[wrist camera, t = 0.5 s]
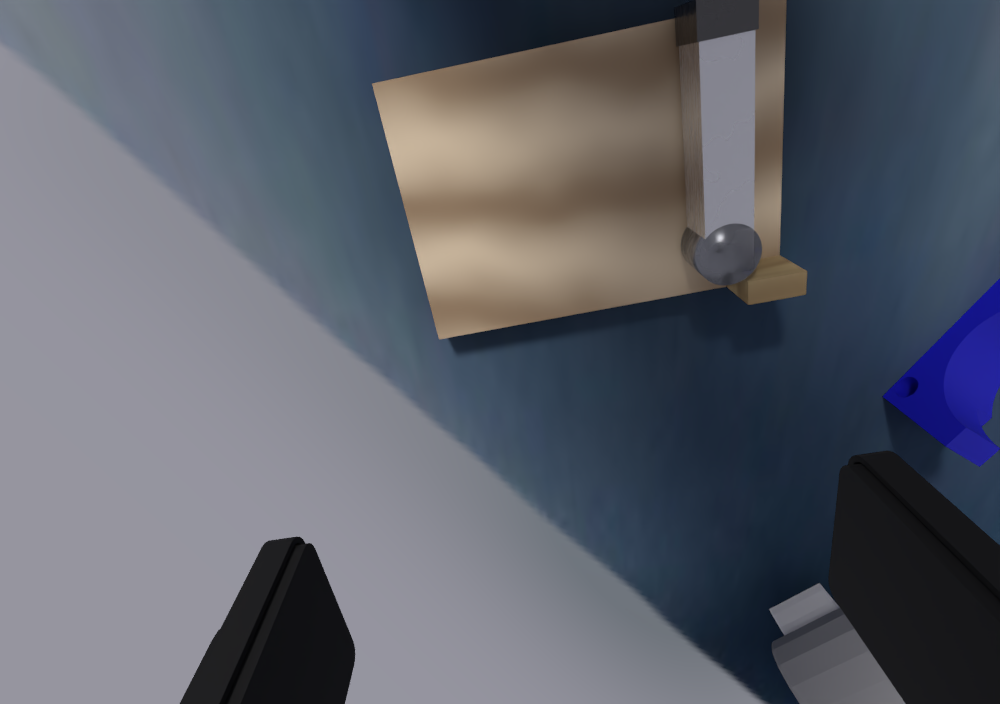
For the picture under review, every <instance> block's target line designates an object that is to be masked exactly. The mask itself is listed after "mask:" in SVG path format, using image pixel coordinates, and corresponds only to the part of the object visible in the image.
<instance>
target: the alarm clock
mask: <svg viewBox="0 0 1000 704" xmlns="http://www.w3.org/2000/svg"><path fill="white" fill-rule="evenodd" d="M769 610H770V612H771V614H772V616H773V618H774V619H775V621H776V623H777V624H778V626H779V628H780V629H781V631H782V632H783V634H784V636H783V637H781V638H779V639H777V640H775V641H773V642H772V653H773V656H774V658H775V661H776V663H777V666H778V668H779V670H780V672H781V673H782V675H783V677H784V679H785V681H786V682H787V684H788V686H789V688H790V689H791V691H792V693H793V694H794V696H795V697H796V699H797V700H798V702H799V703H800V704H905V702H904V701H903V699H902V698H901V696H900V695H899V694H898V692H897V691H896V689H895V688H894V686H893V685H892V683H891V682H890V680H889V679H888V677H887V676H886V674H885V673H884V671H883V670H882V669H881V667H880V666H879V664H878V663H877V661H876V660H875V658H874V657H873V655H872V654H871V652H870V651H869V649H868V648H867V646H866V645H865V644H864V642H863V641H862V639H861V638H860V636H859V635H858V633H857V632H856V630H855V629H854V627H853V626H852V624H851V623H850V622H849V620H848V619H847V617H846V616H845V614H844V613H843V611H842V610H841V608H840V607H839V606H838V605H837V603H836V602H835V601H834V600H833V599H832V597H831V596H830V595H829V594H828V593H827V591H826V590H825V589H824V588H823V587H822V585H821V584H820V583H818V584H817V585H815V586H813V587H811V588H809V589H807V590H805V591H803V592H801V593H799V594H797V595H795V596H793V597H792V598H790V599H788V600H786V601H784V602H782V603H780V604H778V605H776V606H774V607H772V608H770V609H769Z"/></svg>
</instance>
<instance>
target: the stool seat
mask: <svg viewBox="0 0 1000 704" xmlns="http://www.w3.org/2000/svg"><path fill="white" fill-rule="evenodd" d="M786 1H787V0H759V29H757V30H755V177H754V231H756V233H757V234H758V236H759V237H760V240H761V243H762V255H761V259H760V261H759V263H758V265H757V267H756V269H755V270H754V271H753V272H752V273H751V274H750V275H749V276H748V277H747V278H746V279H744V280H742V281H740V282H738V283H736V284H732V285H726V286H722V285H716V284H713V283H711V282H709V281H708V280H707V279H706V278H704V277H703V276H702V275H701V274H700V273H699V272H698V271H696V270H695V269H694V268H693V267H692V266H691V265H690V264H689V263H687V261H686V260H685V259H684V257H683V255H682V252H681V239H682V235H683V233H684V231H685V229H686V228H687V212H686V191H685V169H684V147H683V125H682V104H681V82H680V60H679V46H677V47H676V34H675V18H674V19H669V20H665V21H660V22H655V23H651V24H646V25H642V26H637V27H632V28H628V29H623V30H618V31H614V32H609V33H605V34H600V35H595V36H591V37H586V38H581V39H577V40H572V41H567V42H563V43H558V44H554V45H549V46H544V47H540V48H535V49H530V50H526V51H521V52H517V53H512V54H507V55H503V56H498V57H493V58H489V59H484V60H480V61H475V62H470V63H466V64H461V65H456V66H452V67H447V68H443V69H438V70H433V71H429V72H424V73H419V74H415V75H410V76H406V77H401V78H396V79H392V80H387V81H382V82H378V83H373V84H372V85H373V89H374V93H375V97H376V101H377V104H378V108H379V112H380V116H381V120H382V124H383V127H384V131H385V135H386V139H387V143H388V146H389V150H390V154H391V158H392V162H393V165H394V169H395V173H396V177H397V181H398V184H399V188H400V192H401V196H402V200H403V204H404V207H405V211H406V215H407V219H408V223H409V226H410V230H411V234H412V238H413V242H414V245H415V249H416V253H417V257H418V261H419V264H420V268H421V272H422V276H423V280H424V284H425V287H426V291H427V295H428V299H429V303H430V306H431V310H432V314H433V318H434V322H435V325H436V329H437V333H438V337H439V339H444V338H450V337H455V336H461V335H466V334H472V333H477V332H482V331H488V330H493V329H499V328H504V327H510V326H515V325H520V324H526V323H531V322H537V321H542V320H548V319H553V318H559V317H564V316H569V315H575V314H580V313H586V312H591V311H597V310H602V309H608V308H613V307H618V306H624V305H629V304H635V303H640V302H646V301H651V300H657V299H662V298H667V297H673V296H678V295H684V294H689V293H695V292H700V291H706V290H711V289H716V288H722V287H727V288H729V289H730V290H731V291H732V292H733V293H734V294H736V295H737V296H738V297H739V298H740V299H742V300H743V301H744V302H745V303H746V304H748V305H752V304H757V303H763V302H768V301H774V300H779V299H785V298H790V297H796V296H801V295H806V285H807V271H806V270H804V269H803V268H801V267H799V266H797V265H796V264H794V263H792V262H790V261H789V260H787V259H785V258H784V257H782V256H780V225H781V188H782V150H783V113H784V76H785V39H786Z"/></svg>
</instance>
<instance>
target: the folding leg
mask: <svg viewBox="0 0 1000 704" xmlns="http://www.w3.org/2000/svg"><path fill="white" fill-rule="evenodd" d="M674 13H675V34H676V47H677V46H679V60H680V82H681V104H682V125H683V147H684V169H685V191H686V212H687V228H686V229H685V231H684V233H683V235H682V239H681V252H682V255H683V257H684V259H685V260H686V261H687V263H689V264H690V265H691V266H692V267H693V268H694V269H695V270H696V271H698V272H699V273H700V274H701V275H702V276H703V277H704V278H706V279H707V280H708V281H709V282H711V283H713V284H716V285H722V286H726V285H732V284H736V283H738V282H740V281H742V280H744V279H746V278H747V277H748V276H749V275H750V274H751V273H752V272H753V271H754V270H755V269H756V267H757V265H758V263H759V261H760V259H761V255H762V243H761V240H760V237H759V236H758V234H757V233H756V231H754V177H755V30H757V29H759V0H692V1H690V2H688V3H685V4H683V5H681V6H678V7H676V8H674Z"/></svg>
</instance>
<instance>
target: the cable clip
mask: <svg viewBox="0 0 1000 704" xmlns="http://www.w3.org/2000/svg"><path fill="white" fill-rule="evenodd" d="M999 387H1000V279H999V280H998V281H997V282H996V283H995V284H994V285H993V286H992V287H991V288H990V289H989V290H988V291H987V292H986V293H985V294H984V295H983V296H982V297H981V298H980V299H979V300H978V301H977V302H976V303H975V304H974V305H973V306H972V307H971V308H970V309H969V310H968V311H967V312H966V313H965V314H964V315H963V316H962V317H961V318H960V319H959V320H958V321H957V322H956V323H955V324H954V325H953V326H952V327H951V328H950V329H949V330H948V331H947V332H946V333H945V334H944V335H943V336H942V337H941V338H940V339H939V340H938V341H937V342H936V343H935V344H934V345H933V346H932V347H931V348H930V349H929V350H928V351H927V352H926V353H925V354H924V355H923V356H922V357H921V358H920V359H919V360H918V361H917V362H916V363H915V364H914V365H913V366H912V367H911V368H910V369H909V370H908V371H907V372H906V373H905V374H904V375H903V376H902V377H901V378H900V379H899V380H898V381H897V382H896V383H895V384H894V385H893V386H892V387H891V388H890V389H889V390H888V391H887V392H886V393H885V394H884V395H883V396H882V397H884V398H885V399H886V400H888V401H889V402H890V403H891V404H893V405H894V406H895V407H896V408H898V409H899V410H900V411H901V412H903V413H904V414H905V415H906V416H908V417H909V418H910V419H912V420H913V421H914V422H915V423H917V424H918V425H919V426H920V427H922V428H923V429H924V430H925V431H927V432H928V433H929V434H931V435H932V436H933V437H934V438H936V439H937V440H938V441H939V442H941V443H942V444H943V445H944V446H946V447H947V448H949V449H951V450H952V451H954V452H956V453H958V454H959V455H961V456H963V457H964V458H966V459H968V460H969V461H971V462H973V463H974V464H976V465H978V466H979V467H980V466H981V465H982V464H983V463H985V462H986V461H987V460H988V459H989V458H990V457H991V456H993V455H994V454H995V453H996V452H997V451H998V450H1000V448H999V447H998V446H997V445H995V444H994V443H993V442H992V441H991V440H990V439H989V438H988V436H987V435H986V434H985V432H984V431H983V429H982V426H983V425H984V424H985V423H986V422H987V421H989V420H990V419H991V418H992V406H993V401H994V398H995V395H996V393H997V390H998V388H999Z"/></svg>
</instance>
